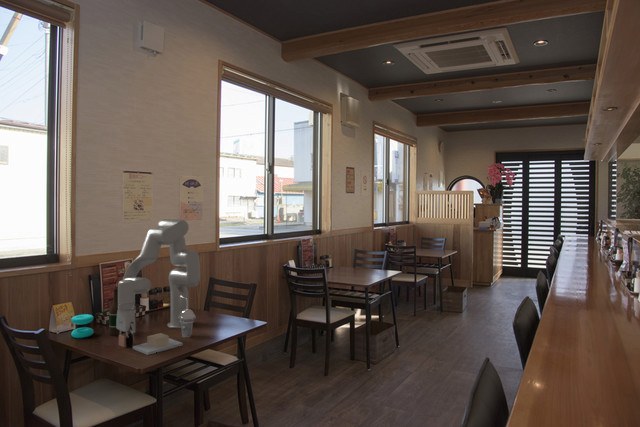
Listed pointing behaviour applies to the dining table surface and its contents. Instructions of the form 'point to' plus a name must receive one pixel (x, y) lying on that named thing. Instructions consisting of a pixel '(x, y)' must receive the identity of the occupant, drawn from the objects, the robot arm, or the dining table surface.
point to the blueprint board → (153, 350)
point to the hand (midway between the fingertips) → (126, 343)
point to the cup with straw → (186, 320)
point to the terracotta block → (123, 340)
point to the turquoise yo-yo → (85, 330)
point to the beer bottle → (113, 314)
